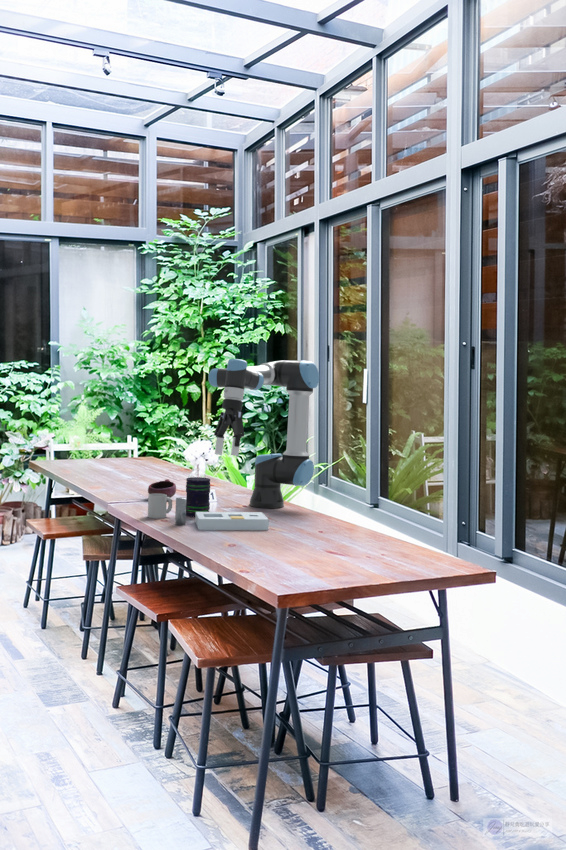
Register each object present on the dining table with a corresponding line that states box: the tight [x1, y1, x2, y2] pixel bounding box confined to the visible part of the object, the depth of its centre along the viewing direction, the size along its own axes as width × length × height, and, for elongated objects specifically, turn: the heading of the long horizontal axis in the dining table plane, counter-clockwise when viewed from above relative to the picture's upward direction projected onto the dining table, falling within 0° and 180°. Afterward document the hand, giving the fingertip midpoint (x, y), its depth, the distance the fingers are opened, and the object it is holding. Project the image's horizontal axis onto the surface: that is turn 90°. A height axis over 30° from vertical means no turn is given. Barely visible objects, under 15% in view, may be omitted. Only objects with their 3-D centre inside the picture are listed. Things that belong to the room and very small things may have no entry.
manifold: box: [194, 511, 270, 531], centre depth 308 cm, size 16×26×4 cm, turn 101°
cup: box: [147, 493, 173, 520], centre depth 322 cm, size 7×10×9 cm
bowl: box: [147, 478, 177, 499], centre depth 369 cm, size 16×13×8 cm
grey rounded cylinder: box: [174, 496, 187, 526], centre depth 308 cm, size 4×4×10 cm
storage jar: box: [185, 476, 211, 518], centre depth 329 cm, size 10×10×15 cm
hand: (226, 455), depth 308 cm, fingers open, 13 cm apart
